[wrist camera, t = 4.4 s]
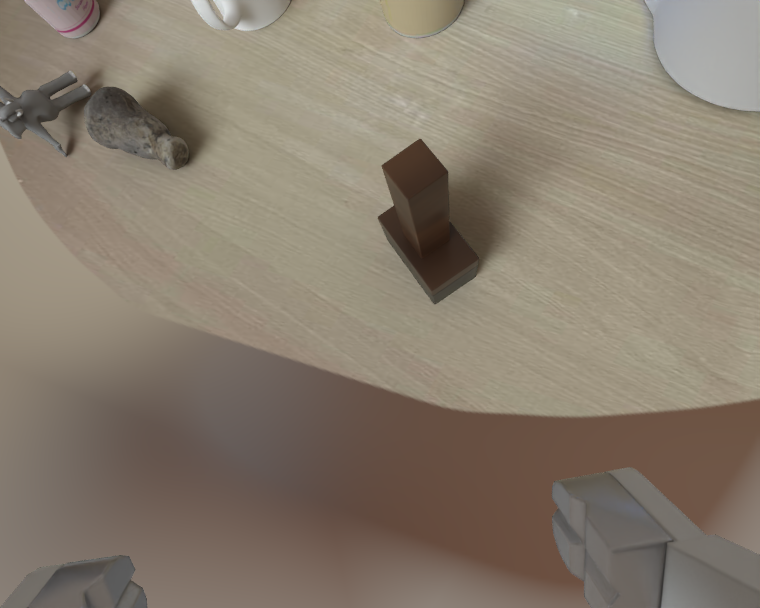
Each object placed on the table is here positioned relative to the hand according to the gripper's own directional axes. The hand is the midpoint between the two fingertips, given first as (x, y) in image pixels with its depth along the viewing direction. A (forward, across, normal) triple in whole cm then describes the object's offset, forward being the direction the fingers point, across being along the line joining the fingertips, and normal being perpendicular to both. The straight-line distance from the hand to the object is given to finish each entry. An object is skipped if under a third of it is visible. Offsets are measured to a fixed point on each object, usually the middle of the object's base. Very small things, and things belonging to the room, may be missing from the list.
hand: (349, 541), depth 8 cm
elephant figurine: (+44, +29, -18) cm, 56 cm away
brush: (+26, -7, -1) cm, 26 cm away
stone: (+39, +18, -14) cm, 45 cm away
